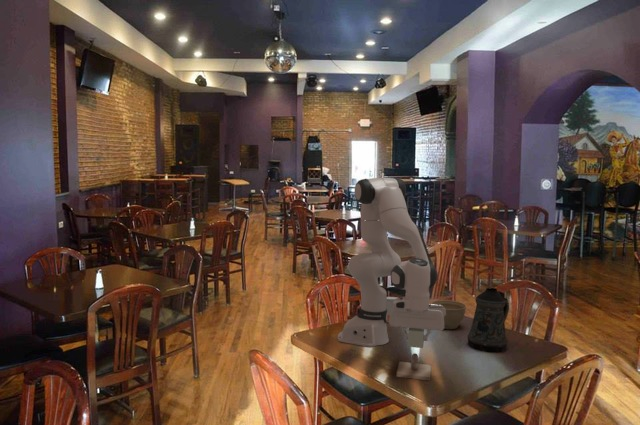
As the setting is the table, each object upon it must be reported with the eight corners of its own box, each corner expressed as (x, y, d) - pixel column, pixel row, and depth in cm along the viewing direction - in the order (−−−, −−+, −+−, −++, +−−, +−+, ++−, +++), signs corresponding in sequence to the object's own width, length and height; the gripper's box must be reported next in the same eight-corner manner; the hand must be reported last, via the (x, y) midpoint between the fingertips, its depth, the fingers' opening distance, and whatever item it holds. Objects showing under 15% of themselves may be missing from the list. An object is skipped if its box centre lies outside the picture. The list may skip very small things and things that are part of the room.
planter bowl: (424, 322, 259) (425, 301, 258) (453, 320, 264) (454, 299, 263) (441, 333, 244) (442, 310, 243) (471, 330, 249) (472, 307, 248)
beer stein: (463, 348, 224) (466, 290, 222) (472, 335, 241) (475, 282, 239) (503, 355, 217) (507, 296, 214) (510, 342, 234) (514, 286, 231)
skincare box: (384, 322, 258) (385, 298, 257) (385, 320, 262) (385, 296, 261) (397, 323, 257) (398, 299, 256) (397, 320, 261) (398, 297, 260)
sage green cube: (407, 346, 194) (408, 330, 193) (409, 342, 199) (409, 326, 198) (422, 348, 192) (423, 332, 192) (423, 343, 198) (424, 327, 197)
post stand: (396, 376, 193) (397, 357, 192) (399, 364, 204) (400, 346, 204) (429, 380, 190) (430, 361, 189) (431, 368, 201) (431, 349, 201)
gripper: (446, 303, 195) (444, 339, 196) (390, 298, 200) (389, 334, 201) (446, 307, 189) (444, 345, 190) (388, 302, 194) (387, 339, 195)
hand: (416, 339), depth 195 cm, fingers closed on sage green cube, 5 cm apart
